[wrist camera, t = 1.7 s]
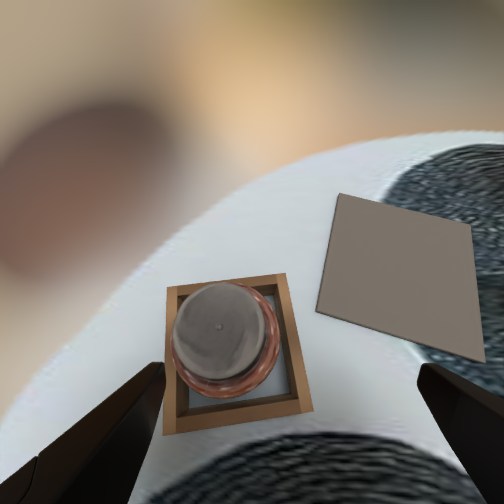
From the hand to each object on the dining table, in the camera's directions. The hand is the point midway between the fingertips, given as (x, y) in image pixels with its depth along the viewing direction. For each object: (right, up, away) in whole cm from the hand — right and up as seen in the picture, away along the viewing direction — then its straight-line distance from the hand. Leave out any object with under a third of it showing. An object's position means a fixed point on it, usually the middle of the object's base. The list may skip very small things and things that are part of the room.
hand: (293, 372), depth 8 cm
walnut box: (-3, -4, +12) cm, 13 cm away
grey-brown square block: (+13, +3, +15) cm, 20 cm away
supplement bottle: (-3, -4, +12) cm, 13 cm away
